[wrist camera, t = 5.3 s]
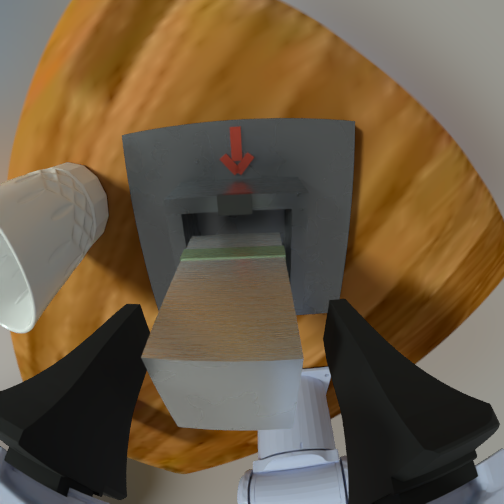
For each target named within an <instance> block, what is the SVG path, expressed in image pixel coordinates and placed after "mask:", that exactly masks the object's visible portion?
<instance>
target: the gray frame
mask: <svg viewBox="0 0 504 504" xmlns="http://www.w3.org/2000/svg"><path fill="white" fill-rule="evenodd" d="M122 140H123V148H124V156H125V163H126V170H127V176H128V183H129V188H130V194H131V200H132V205H133V210H134V215H135V220H136V225H137V230H138V234H139V239H140V243H141V247H142V251H143V256H144V260H145V264H146V267H147V271H148V275H149V279H150V283H151V286H152V290H153V293H154V297H155V300H156V303H157V307H158V310H160V308H161V305H162V303H163V300H164V298H165V296H166V293H167V291H168V289H169V286H170V284H171V282H172V279H173V277H174V275H175V272H176V270H177V268H178V266H179V263H180V257H181V255H182V253H183V250H184V249H186V248H187V246H188V243H189V241H190V239H191V237H192V236H206V235H228V234H252V233H280V237H281V241H282V246H283V245H284V249H285V253H286V266H287V271H288V276H289V282H290V287H291V292H292V297H293V303H294V308H295V313H296V315H304V314H319V313H328V306H329V300H336V299H340V293H341V286H342V280H343V273H344V266H345V259H346V251H347V243H348V234H349V224H350V214H351V202H352V189H353V172H354V147H355V121H346V120H330V119H305V118H267V119H242V120H226V121H214V122H203V123H194V124H186V125H178V126H171V127H164V128H158V129H152V130H146V131H141V132H135V133H130V134H126V135H122Z"/></svg>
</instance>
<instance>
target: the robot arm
mask: <svg viewBox="0 0 504 504" xmlns="http://www.w3.org/2000/svg"><path fill="white" fill-rule="evenodd" d="M149 335H150V331H149V328H148V326H147V323H146V320H145V317H144V315H143V312H142V309H141V306H140V304H126V305H125V306H123V307H122V308H121V309H120V310H119V311H117V312H116V313H115V314H114V315H113V316H112V317H111V318H110V319H108V320H107V321H106V322H105V323H104V324H103V325H102V326H101V327H100V328H98V329H97V330H96V331H95V332H94V333H93V334H92V335H91V336H89V337H88V338H87V339H86V340H85V341H83V342H82V343H81V344H80V345H79V346H77V347H76V348H75V349H74V350H73V351H71V352H70V353H69V354H68V355H66V356H65V357H64V358H62V359H61V360H59V361H58V362H56V363H55V364H54V365H52V366H51V367H49V368H47V369H46V370H44V371H42V372H41V373H39V374H37V375H36V376H34V377H32V378H30V379H28V380H26V381H24V382H22V383H20V384H18V385H16V386H13V387H11V388H8V389H6V390H3V391H0V440H1V441H3V442H4V443H5V444H6V445H8V446H9V449H8V451H6V450H5V449H4V448H2V447H1V446H0V504H110V503H107V502H104V501H101V500H99V499H96V498H93V497H92V495H93V494H95V495H97V496H100V497H102V495H106V496H109V497H112V498H115V499H118V500H122V499H124V498H126V497H127V491H126V464H127V449H128V441H129V433H130V427H131V421H132V415H133V411H134V408H135V404H136V401H137V398H138V395H139V392H140V389H141V386H142V383H143V380H144V377H145V374H146V371H147V369H146V367H145V365H144V363H143V361H142V358H141V356H142V354H143V351H144V348H145V346H146V343H147V340H148V338H149ZM323 341H324V347H325V353H326V359H327V364H328V367H321V368H311V369H302V373H301V380H300V386H299V393H298V399H297V405H296V411H295V417H294V423H293V428H291V429H275V430H258V461H253V469H249V470H247V471H246V472H245V474H244V475H243V476H242V477H241V479H240V481H239V486H238V494H237V500H238V504H504V449H500V450H498V451H497V452H496V453H494V454H492V455H491V456H489V457H488V458H486V459H485V460H483V461H481V462H480V463H478V464H477V465H474V462H473V460H474V459H476V458H477V454H476V451H475V449H476V448H477V447H478V446H480V445H481V444H482V443H484V442H485V441H486V440H487V439H488V438H489V437H491V435H493V434H494V433H495V432H496V430H497V429H498V427H499V425H500V423H499V421H498V419H497V417H496V415H495V413H494V411H493V409H492V407H491V405H490V404H489V403H486V402H483V401H481V400H478V399H476V398H473V397H471V396H468V395H466V394H464V393H462V392H460V391H458V390H456V389H454V388H451V387H450V386H448V385H446V384H444V383H442V382H441V381H439V380H437V379H436V378H434V377H433V376H431V375H429V374H428V373H426V372H425V371H423V370H422V369H420V368H419V367H418V366H416V365H415V364H414V363H412V362H411V361H410V360H408V359H407V358H406V357H404V356H403V355H402V354H401V353H399V352H398V351H397V350H396V349H395V348H394V347H393V346H392V345H390V344H389V343H388V342H387V341H386V340H385V339H384V338H383V337H382V336H381V335H380V334H379V333H378V332H377V331H376V330H375V329H374V328H373V327H372V326H371V325H370V324H369V323H368V322H367V321H366V320H365V319H364V318H363V317H362V316H361V315H360V314H359V313H358V312H357V311H356V310H355V309H354V308H353V307H352V306H351V305H350V303H349V302H348V301H347V300H346V299H336V300H329V306H328V313H327V319H326V325H325V331H324V337H323ZM331 378H332V381H333V385H334V388H335V392H336V395H337V399H338V403H339V406H340V410H341V415H342V420H343V427H344V435H345V443H346V452H347V456H342V457H340V460H339V454H338V450H337V449H336V448H335V442H334V437H333V431H332V426H331V420H330V415H329V409H328V404H327V399H326V393H327V389H328V386H329V382H330V379H331Z"/></svg>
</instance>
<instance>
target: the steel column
mask: <svg viewBox="0 0 504 504" xmlns="http://www.w3.org/2000/svg"><path fill="white" fill-rule="evenodd" d="M141 358H142V361H143V363H144V365H145V367H146V369H147V371H148V373H149V375H150V377H151V379H152V381H153V383H154V385H155V387H156V389H157V390H158V392H159V394H160V396H161V398H162V400H163V402H164V403H165V405H166V407H167V409H168V410H169V412H170V414H171V416H172V417H173V419H174V421H175V422H176V424H177V426H178V427H185V428H197V429H213V430H275V429H291V428H293V423H294V417H295V411H296V405H297V399H298V393H299V386H300V380H301V373H302V366H303V353H302V347H301V341H300V336H299V330H298V324H297V319H296V313H295V308H294V303H293V297H292V292H291V287H290V282H289V276H288V271H287V266H286V253H285V249H284V245H283V246H282V241H281V237H280V233H252V234H228V235H206V236H192V237H191V239H190V241H189V243H188V246H187V248H186V249H184V250H183V253H182V255H181V257H180V263H179V266H178V268H177V270H176V272H175V275H174V277H173V279H172V282H171V284H170V286H169V289H168V291H167V293H166V296H165V298H164V300H163V303H162V305H161V308H160V310H159V313H158V315H157V318H156V320H155V323H154V325H153V328H152V330H151V333H150V335H149V338H148V340H147V343H146V346H145V348H144V351H143V354H142V356H141Z"/></svg>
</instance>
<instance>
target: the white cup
mask: <svg viewBox="0 0 504 504" xmlns="http://www.w3.org/2000/svg"><path fill="white" fill-rule="evenodd" d="M108 216H109V213H108V204H107V195H106V193H105V191H104V189H103V187H102V185H101V183H100V181H99V179H98V177H97V176H95V175H94V174H93V173H92V172H91V171H90V170H88V169H87V168H86V167H85V166H84V165H79V164H75V163H70V162H67V163H63V164H60V165H57V166H54V167H52V168H48V169H43V170H38V171H34V172H31V173H28V174H25V175H23V176H19V177H16V178H13V179H11V180H8V181H6V182H3V183H1V184H0V325H1V326H2V327H4V328H6V329H8V330H10V331H12V332H15V333H27V332H29V331H30V330H31V329H32V328H33V327H34V325H35V324H36V322H37V321H38V319H39V318H40V316H41V315H42V313H43V312H44V311H45V309H46V308H47V306H48V305H49V303H50V302H51V301H52V299H53V298H54V297H55V295H56V294H57V293H58V291H59V290H60V289H61V287H62V286H63V285H64V284H65V282H66V281H67V280H68V278H69V277H70V275H71V274H72V272H73V271H74V270H75V269H76V267H77V266H78V265H79V263H80V262H81V261H82V259H83V258H84V257H85V255H86V253H87V251H88V250H89V249H90V247H91V246H92V245H93V244H94V243H95V242H96V241H97V239H98V238H99V237H100V236H101V235H102V234H103V233H104V230H105V226H106V223H107V220H108Z"/></svg>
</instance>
